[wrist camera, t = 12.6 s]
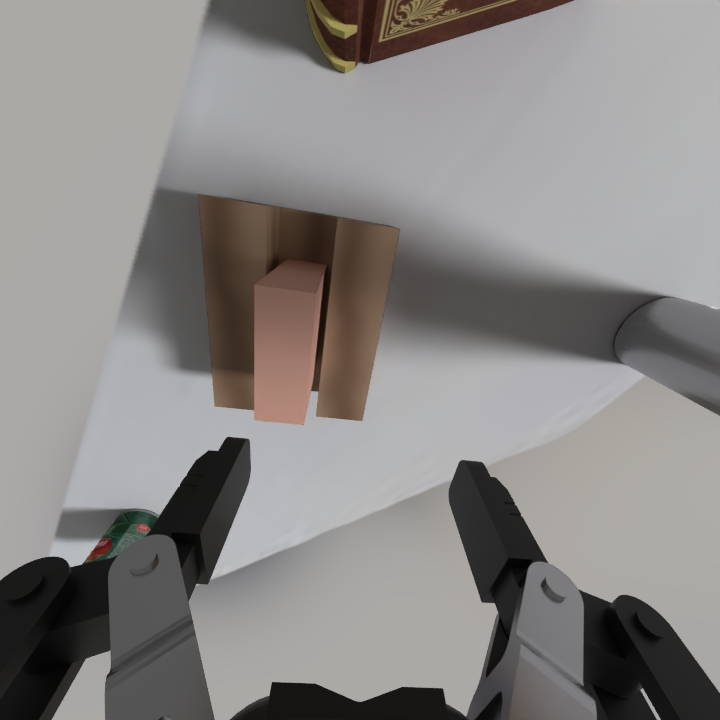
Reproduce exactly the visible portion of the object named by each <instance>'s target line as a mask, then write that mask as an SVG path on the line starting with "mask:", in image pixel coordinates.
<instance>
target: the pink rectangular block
mask: <svg viewBox="0 0 720 720" xmlns="http://www.w3.org/2000/svg"><path fill="white" fill-rule="evenodd" d="M326 272H327V265H325V264H318V263H312V262H306V261H299V260H293V259H287V260H285V261H284V262H283V263H282V264H280V265H279V266H278V267H276V268H275V269H274V270H273V271H271V272H270V273H269V274H267V275H266V276H265V277H264V278H262V279H261V280H260V281H258V282H257V283H256V284H255V285H254V420H260V421H270V422H280V423H290V424H300V425H304V423H305V418H306V413H307V408H308V403H309V398H310V393H311V388H312V383H313V378H314V373H315V368H316V363H317V356H318V347H319V338H320V328H321V319H322V309H323V300H324V290H325V281H326Z"/></svg>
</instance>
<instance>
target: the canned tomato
mask: <svg viewBox="0 0 720 720" xmlns="http://www.w3.org/2000/svg"><path fill="white" fill-rule="evenodd" d="M158 518H159V515H158V514H156V513H154V512H151V511H148V510H144V509H130V510H126V511H124V512H122V513H121V514H119V516H118V517H117V519H116V520H115V522H114V523H113V524H112V525H111V527H110V528H109V530H108V531H107V532H106V534H105V535H104V536H103V538H102V539H101V540H100V541H99V543H98V544H97V545H96V547H95V548H94V550H93V551H92V552H91V553H90V555H89V556H88V557H87V559H86V560H85V562H84V563H83V564H87V563H91V562H96V561H100V560H104V559H108V558H111V557H114V556H117V555H119V554H120V553H121V552H122V551H123V550H124V549H125V548H126V547H128V546H129V545H130V544H132V543H133V542H135V541H137V540H139V539H141V538H144V537H145V536H146V535H147V534H148V532H149V531H150V530H151V528H152V527H153V525H154V524H155V522H156V521H157V519H158ZM83 564H82V565H83Z"/></svg>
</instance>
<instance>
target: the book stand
mask: <svg viewBox="0 0 720 720" xmlns="http://www.w3.org/2000/svg"><path fill="white" fill-rule="evenodd" d="M198 199H199V212H200V225H201V237H202V250H203V263H204V276H205V288H206V301H207V314H208V327H209V339H210V352H211V365H212V378H213V390H214V403H215V406H217V407H227V408H237V409H247V410H254V285H255V284H256V283H257V282H258V281H260V280H261V279H262V278H264V277H265V276H266V275H267V274H269V273H270V272H271V271H273V270H274V269H275V268H276V267H278V266H279V265H280V264H282V263H283V262H284V261H285V260H287V259H293V260H299V261H306V262H312V263H318V264H325V265H327V272H326V281H325V290H324V300H323V309H322V319H321V328H320V338H319V347H318V356H317V363H316V368H315V373H314V378H313V383H312V388H311V391H318V392H319V393H318V403H317V412H316V416H318V417H328V418H338V419H348V420H358V421H362V420H363V415H364V410H365V405H366V399H367V394H368V389H369V384H370V379H371V374H372V369H373V364H374V359H375V354H376V349H377V344H378V339H379V334H380V329H381V324H382V319H383V314H384V309H385V304H386V298H387V293H388V288H389V283H390V278H391V273H392V268H393V263H394V258H395V253H396V248H397V243H398V238H399V233H400V229H399V228H395V227H392V226H388V225H382V224H376V223H370V222H365V221H359V220H353V219H347V218H341V217H335V216H330V215H324V214H318V213H312V212H306V211H301V210H295V209H289V208H283V207H277V206H271V205H266V204H260V203H254V202H248V201H242V200H236V199H231V198H223V197H215V196H207V195H199V194H198Z"/></svg>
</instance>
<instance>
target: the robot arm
mask: <svg viewBox="0 0 720 720" xmlns="http://www.w3.org/2000/svg"><path fill="white" fill-rule="evenodd" d="M614 351H615V354H616V356H617V358H618V359H619V360H620V361H621V362H622V363H624V364H626V365H627V366H629V367H631V368H633V369H635V370H637V371H638V372H640V373H642V374H644V375H646V376H648V377H649V378H651V379H653V380H655V381H657V382H659V383H660V384H662V385H664V386H666V387H668V388H669V389H671V390H673V391H675V392H677V393H679V394H680V395H682V396H684V397H686V398H688V399H690V400H692V401H693V402H695V403H697V404H699V405H701V406H702V407H704V408H706V409H708V410H710V411H712V412H714V413H715V414H717V415H719V416H720V309H717V308H714V307H710V306H706V305H702V304H698V303H695V302H691V301H687V300H683V299H679V298H673V297H669V298H661V299H657V300H654V301H652V302H650V303H647V304H645V305H644V306H642V307H641V308H639V309H638V310H636V311H635V312H634V313H633V314H631V315H630V316H629V317H628V319H627V320H626V321H625V322H624V323H623V325H622V326H621V328H620V329H619V331H618V333H617V335H616V339H615V343H614ZM250 472H251V462H250V441H249V439H244V438H233V437H227V438H226V439H225V440H224V442H223V444H222V446H221V447H220V449H219V451H210V450H209V451H207V452H206V453H205V454H204V455H202V456H201V457H200V458H199V459H197V460H196V461H195V463H194V464H193V466H192V467H191V469H190V470H189V472H188V473H187V476H185V478H184V479H183V481H182V482H181V484H180V487H178V489H177V490H176V492H175V493H174V495H173V496H172V498H171V499H170V501H169V502H168V504H167V505H166V507H165V508H164V510H163V511H162V513H161V515H160V516H159V518H158V519H157V521H156V522H155V524H154V525H153V527H152V528H151V530H150V531H149V532H148V534H147V535H146V536H145V537H144V538H141V539H139V540H137V541H135V542H133V543H132V544H130V545H129V546H128V547H126V548H125V549H124V550H123V551H122V552H121V553H120V554H119V555H117V556H114V557H111V558H108V559H104V560H100V561H96V562H91V563H87V564H83V565H79V566H74V567H70V566H69V564H68V563H67V561H66V560H64V559H63V558H60V557H45V558H41V559H37V560H34V561H32V562H29V563H27V564H25V565H23V566H21V567H19V568H17V569H16V570H14V571H13V572H11V573H10V574H8V575H7V576H5V577H4V578H3V579H2V580H1V581H0V720H52V718H53V716H54V714H55V712H56V711H57V709H58V707H59V705H60V704H61V702H62V700H63V698H64V696H65V695H66V693H67V691H68V689H69V688H70V686H71V684H72V682H73V680H74V679H75V677H76V675H77V673H78V672H79V670H80V668H81V666H82V664H83V662H84V661H85V659H86V658H89V657H91V656H95V655H97V654H101V653H104V652H107V651H110V650H111V669H110V673H109V674H108V675H107V677H106V683H105V720H214V715H213V710H212V706H211V701H210V697H209V692H208V688H207V683H206V679H205V674H204V670H203V666H202V661H201V657H200V652H199V647H198V643H197V638H196V634H195V630H194V625H193V620H192V616H191V611H190V607H189V599H190V597H191V595H192V592H193V590H194V588H195V586H196V584H208V583H209V581H210V578H211V576H212V573H213V571H214V568H215V566H216V563H217V561H218V558H219V556H220V553H221V551H222V548H223V546H224V543H225V541H226V538H227V536H228V533H229V531H230V528H231V526H232V523H233V521H234V518H235V516H236V513H237V511H238V508H239V506H240V503H241V501H242V498H243V496H244V493H245V491H246V488H247V486H248V483H249V478H250ZM449 502H450V506H451V509H452V512H453V515H454V518H455V522H456V525H457V528H458V531H459V534H460V537H461V540H462V543H463V546H464V549H465V552H466V555H467V558H468V562H469V565H470V567H471V571H472V574H473V576H474V580H475V583H476V586H477V589H478V592H479V595H480V598H481V601H482V602H485V603H495V605H496V607H497V610H498V614H497V616H496V619H495V622H494V626H493V630H492V634H491V638H490V642H489V646H488V650H487V654H486V658H485V662H484V667H483V670H482V674H481V678H480V681H479V684H478V687H477V690H476V692H475V694H474V696H473V699H472V701H471V704H470V707H469V710H468V713H467V716H466V717H465V716H464V715H463V714H462V713H461V712H459V711H457V710H456V709H454V708H453V707H451V706H449V705H447V704H446V702H445V697H444V692H443V689H441V688H413V687H401V688H399V689H396V690H393V691H390V692H388V693H385V694H382V695H380V696H377V697H374V698H372V699H369V700H366V701H363V702H357V701H354V700H351V699H349V698H347V697H345V696H342V695H340V694H337V693H335V692H333V691H331V690H328V689H326V688H324V687H322V686H319V685H317V684H305V683H280V682H279V683H278V682H272V685H271V691H270V696H268V697H265V698H262V699H259V700H257V701H255V702H253V703H252V704H250V705H248V706H247V707H245V708H244V709H243V710H241V711H240V712H238V713H237V714H236V715H235V716H233V717H232V718H231V719H230V720H657V719H656V718H655V716H654V714H653V712H652V710H651V709H650V707H649V705H648V703H647V701H646V700H645V698H644V696H643V694H642V693H641V691H640V690H641V689H642V688H643V689H644V691H645V692H646V694H647V696H648V698H649V699H650V701H651V703H652V705H653V706H654V708H655V710H656V712H657V713H658V715H659V717H660V718H661V720H720V693H719V692H718V690H717V689H716V687H715V686H714V685H713V683H712V682H711V680H710V679H709V678H708V677H707V675H706V674H705V672H704V671H703V669H702V668H701V667H700V665H699V664H698V663H697V661H696V660H695V658H694V657H693V656H692V654H691V653H690V652H689V650H688V649H687V647H686V646H685V645H684V644H683V642H682V641H681V639H680V638H679V637H678V635H677V634H676V632H675V631H674V630H673V628H672V627H671V626H670V624H669V623H668V622H667V621H666V620H665V619H664V618H663V617H662V616H661V615H660V614H659V613H658V612H657V611H656V610H654V609H653V608H652V607H651V606H649V605H648V604H646V603H645V602H643V601H641V600H639V599H637V598H635V597H632V596H629V595H621V596H619V597H617V598H616V599H615V600H614V601H613V602H612V603H610V602H608V601H605V600H603V599H600V598H598V597H595V596H592V595H590V594H588V593H585V592H583V591H581V590H578V589H577V587H576V586H575V584H574V583H573V582H572V581H571V580H570V578H569V577H568V576H567V575H566V574H564V573H563V572H562V571H560V570H559V569H558V568H556V567H555V566H553V565H551V564H549V563H548V562H547V560H546V559H545V557H544V555H543V553H542V551H541V550H540V548H539V546H538V544H537V542H536V540H535V539H534V537H533V535H532V533H531V531H530V530H529V528H528V526H527V524H526V522H525V521H524V519H523V517H521V513H520V512H519V510H518V508H517V506H516V505H515V503H514V501H513V499H512V497H511V495H510V494H509V492H508V490H507V489H506V488H505V487H504V486H503V485H502V484H501V483H500V481H498V479H497V478H495V477H490V475H489V473H488V471H487V469H486V467H485V465H484V464H483V463H482V462H476V461H466V460H461V461H460V462H459V464H458V467H457V469H456V472H455V475H454V477H453V480H452V482H451V485H450V488H449Z"/></svg>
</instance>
